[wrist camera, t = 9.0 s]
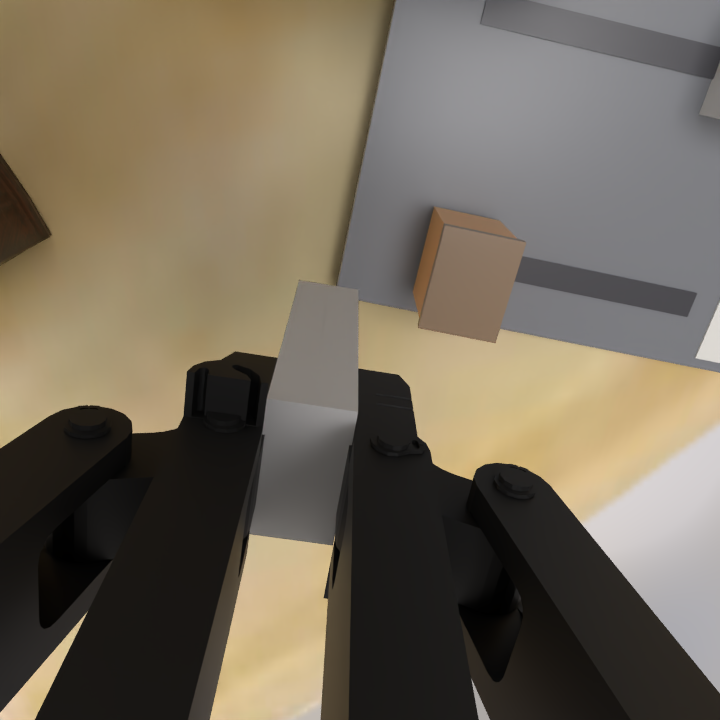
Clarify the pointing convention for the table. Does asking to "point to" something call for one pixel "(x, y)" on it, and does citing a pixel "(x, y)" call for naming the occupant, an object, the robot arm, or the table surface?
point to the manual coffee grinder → (17, 217)
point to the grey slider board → (555, 164)
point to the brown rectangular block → (466, 275)
